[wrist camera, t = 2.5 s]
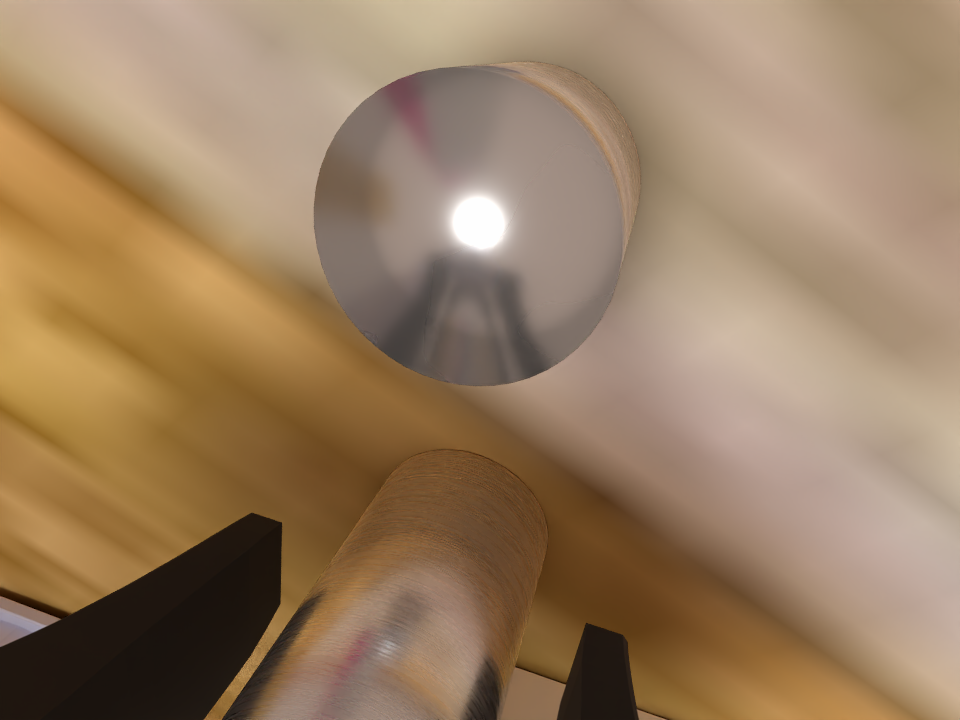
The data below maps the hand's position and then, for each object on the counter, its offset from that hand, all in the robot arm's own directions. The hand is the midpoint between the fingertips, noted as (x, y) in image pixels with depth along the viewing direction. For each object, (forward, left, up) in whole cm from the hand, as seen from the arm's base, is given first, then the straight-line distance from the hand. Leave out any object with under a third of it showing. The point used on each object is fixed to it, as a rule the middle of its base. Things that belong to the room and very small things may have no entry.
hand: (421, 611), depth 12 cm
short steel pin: (0, +7, -2) cm, 7 cm away
